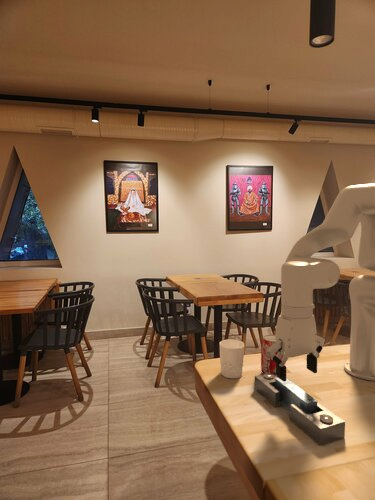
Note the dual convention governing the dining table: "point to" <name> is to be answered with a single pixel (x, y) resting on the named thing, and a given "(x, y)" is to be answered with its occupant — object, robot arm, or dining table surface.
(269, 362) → the soda can
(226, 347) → the white cup
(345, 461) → the dining table surface
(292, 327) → the robot arm
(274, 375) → the bracket
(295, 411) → the bracket
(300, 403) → the link bar
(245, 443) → the dining table surface
